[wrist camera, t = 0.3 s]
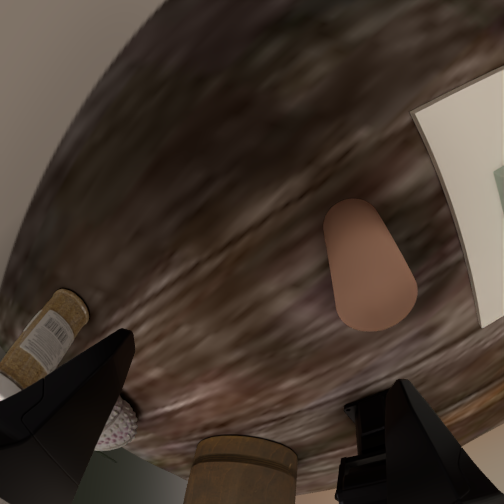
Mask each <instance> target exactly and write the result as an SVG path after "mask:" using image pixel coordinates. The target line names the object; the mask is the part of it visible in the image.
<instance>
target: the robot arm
mask: <svg viewBox="0 0 504 504" xmlns="http://www.w3.org/2000/svg"><path fill="white" fill-rule="evenodd" d="M134 353H135V342H134V335H133V332H132V331H130V330H127V329H123V328H121V329H119V330H117V331H116V332H114V333H112V334H111V335H109V336H108V337H106V338H105V339H103V340H101V341H100V342H98V343H97V344H95V345H93V346H92V347H90V348H89V349H87V350H86V351H84V352H82V353H81V354H79V355H78V356H76V357H75V358H73V359H71V360H70V361H68V362H67V363H65V364H63V365H62V366H60V367H59V368H57V369H56V370H54V371H52V372H51V373H49V374H48V375H46V376H45V377H44V378H41V379H40V380H38V381H37V382H35V383H33V384H32V385H30V386H28V387H27V388H25V389H23V390H21V391H19V392H17V393H16V394H14V395H12V396H10V397H8V398H6V399H3V400H1V401H0V504H72V501H73V499H74V496H75V494H76V491H77V489H78V485H79V484H80V481H81V479H82V477H83V474H84V472H85V470H86V467H87V465H88V463H89V461H90V458H91V456H92V454H93V451H94V449H95V447H96V445H97V443H98V440H99V438H100V436H101V434H102V431H103V429H104V427H105V425H106V423H107V421H108V418H109V416H110V414H111V412H112V410H113V408H114V406H115V404H116V402H117V399H118V397H119V395H120V393H121V391H122V388H123V385H124V382H125V379H126V376H127V374H128V371H129V368H130V365H131V362H132V359H133V356H134ZM344 412H345V413H346V414H347V415H348V416H349V417H350V419H351V420H352V421H353V422H354V423H355V425H356V437H357V450H358V455H357V456H352V457H348V458H347V457H344V458H341V464H340V465H339V474H338V482H337V490H336V493H335V499H336V500H337V501H339V504H504V494H503V493H501V492H500V491H499V490H498V489H497V488H496V487H495V486H494V484H493V483H492V482H491V481H490V480H489V479H488V478H487V477H486V476H485V475H484V474H483V473H482V471H481V470H480V469H479V468H478V467H477V466H476V464H475V463H474V462H473V461H472V460H471V458H470V457H469V456H468V454H467V453H466V452H465V451H464V449H463V448H461V445H460V444H459V443H458V441H457V440H456V439H455V438H454V436H453V435H452V434H451V432H450V431H449V430H448V428H447V427H446V426H445V425H444V423H443V422H442V421H441V420H440V418H439V417H438V416H437V414H436V413H435V412H434V411H433V409H432V408H431V407H430V406H429V404H428V403H427V402H426V401H425V399H424V398H423V397H422V396H421V394H420V393H419V392H418V391H417V389H416V388H415V387H414V386H413V384H412V383H411V382H410V381H409V380H407V379H398V380H396V381H395V383H394V384H393V386H392V387H391V389H389V390H387V391H384V392H382V393H379V394H376V395H374V396H371V397H368V398H366V399H363V400H360V401H357V402H354V403H351V404H348V405H346V406H344Z"/></svg>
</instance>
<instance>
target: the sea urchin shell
mask: <svg viewBox="0 0 504 504" xmlns="http://www.w3.org/2000/svg"><path fill="white" fill-rule="evenodd" d="M135 415H136V413H135V412H133V409H132V408H131V407H130V404H128V403H127V402H126V401H125V400H122V398H121V396H120V395H119V397H118V399H117V402H116V404H115V406H114V408H113V410H112V412H111V414H110V416H109V418H108V421H107V423H106V425H105V427H104V429H103V431H102V434H101V436H100V438H99V440H98V443H97V445H96V447H95V449H94V450H95V451H96V450H98V451H104V450H112V449H116V448H119V447H122V446H124V445H125V444H127V443H128V442H131V441H132V439H135V436H134V435H135V434H137V432H136V429H137V427H138V425H137V420H138V419H137V418H136V417H135Z"/></svg>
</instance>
